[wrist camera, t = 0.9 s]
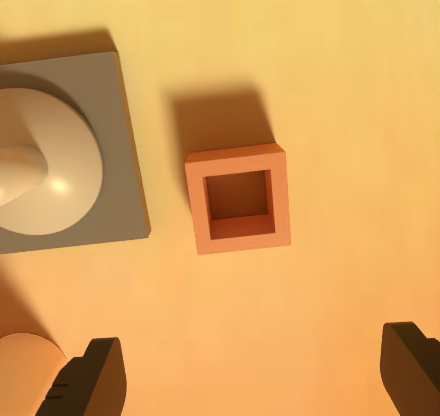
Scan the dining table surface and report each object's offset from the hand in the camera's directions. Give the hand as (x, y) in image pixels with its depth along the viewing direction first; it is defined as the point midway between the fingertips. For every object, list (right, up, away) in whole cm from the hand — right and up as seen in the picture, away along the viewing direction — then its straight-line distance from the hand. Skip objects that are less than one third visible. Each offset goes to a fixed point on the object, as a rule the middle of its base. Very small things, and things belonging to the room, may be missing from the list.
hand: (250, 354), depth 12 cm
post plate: (-14, +8, +16) cm, 23 cm away
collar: (0, +6, +17) cm, 18 cm away
